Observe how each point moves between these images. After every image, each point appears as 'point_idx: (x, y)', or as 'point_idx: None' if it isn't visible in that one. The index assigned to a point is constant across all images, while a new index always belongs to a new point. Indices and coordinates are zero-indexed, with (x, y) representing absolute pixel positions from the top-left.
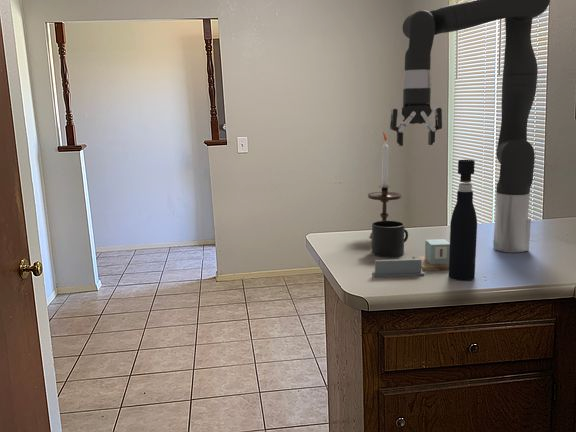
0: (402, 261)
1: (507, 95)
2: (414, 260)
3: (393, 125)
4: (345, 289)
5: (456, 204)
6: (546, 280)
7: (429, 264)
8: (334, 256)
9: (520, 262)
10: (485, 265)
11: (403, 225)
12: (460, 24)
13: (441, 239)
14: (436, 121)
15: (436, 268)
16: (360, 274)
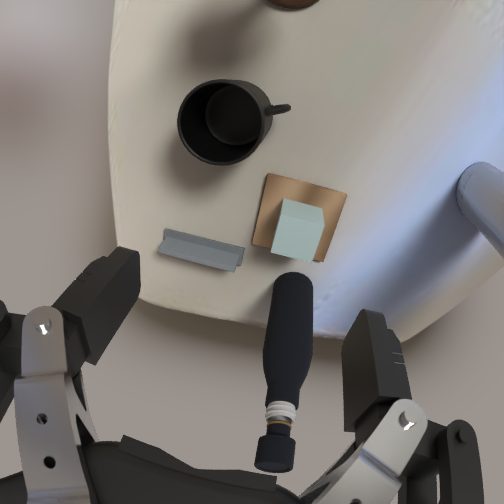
0: (202, 263)
1: None
2: (222, 268)
3: (1, 378)
4: None
5: (267, 380)
6: None
7: (272, 233)
8: (128, 110)
9: (430, 261)
10: (371, 255)
11: (252, 152)
12: None
13: (316, 224)
14: (448, 491)
15: None
16: (148, 224)
